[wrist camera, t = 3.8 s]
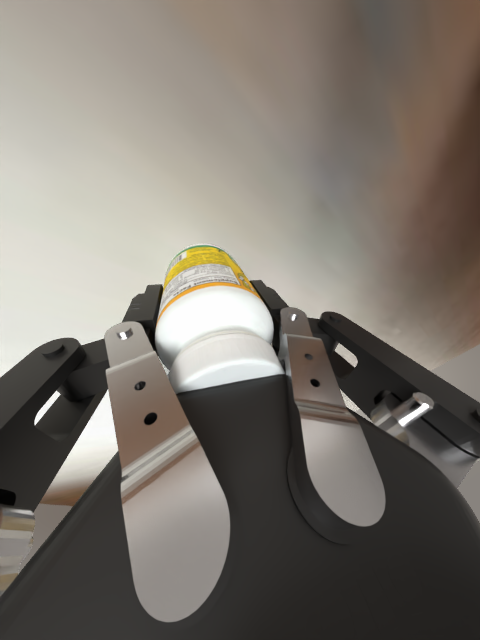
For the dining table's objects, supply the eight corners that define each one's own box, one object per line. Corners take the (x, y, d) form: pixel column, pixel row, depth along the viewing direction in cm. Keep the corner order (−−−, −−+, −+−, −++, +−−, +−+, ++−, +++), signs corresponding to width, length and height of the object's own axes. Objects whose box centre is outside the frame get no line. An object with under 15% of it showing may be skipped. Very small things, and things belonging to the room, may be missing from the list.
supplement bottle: (157, 243, 11) (100, 365, 3) (239, 239, 12) (329, 325, 5) (176, 313, 14) (167, 450, 7) (238, 305, 15) (289, 415, 8)
